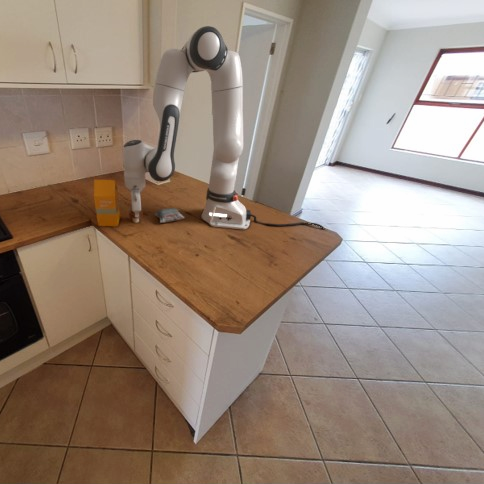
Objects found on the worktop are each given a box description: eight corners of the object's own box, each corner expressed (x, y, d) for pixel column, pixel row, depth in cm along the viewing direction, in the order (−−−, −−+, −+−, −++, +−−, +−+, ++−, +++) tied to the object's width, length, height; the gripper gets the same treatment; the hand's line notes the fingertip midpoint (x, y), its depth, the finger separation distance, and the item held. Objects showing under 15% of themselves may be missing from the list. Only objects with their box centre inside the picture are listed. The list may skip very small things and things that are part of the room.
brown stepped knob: (142, 217, 118) (141, 206, 114) (142, 224, 113) (142, 212, 110) (129, 218, 117) (128, 206, 114) (129, 224, 112) (128, 212, 109)
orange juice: (117, 226, 111) (113, 183, 100) (97, 226, 111) (91, 182, 99) (120, 218, 117) (116, 176, 106) (101, 217, 117) (95, 176, 106)
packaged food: (184, 222, 115) (185, 212, 112) (160, 226, 112) (160, 216, 109) (177, 214, 122) (178, 205, 119) (154, 217, 118) (154, 208, 116)
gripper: (143, 191, 96) (145, 222, 104) (141, 173, 113) (142, 201, 120) (127, 191, 95) (129, 223, 103) (127, 174, 112) (129, 202, 120)
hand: (136, 211), depth 112 cm, fingers open, 8 cm apart
